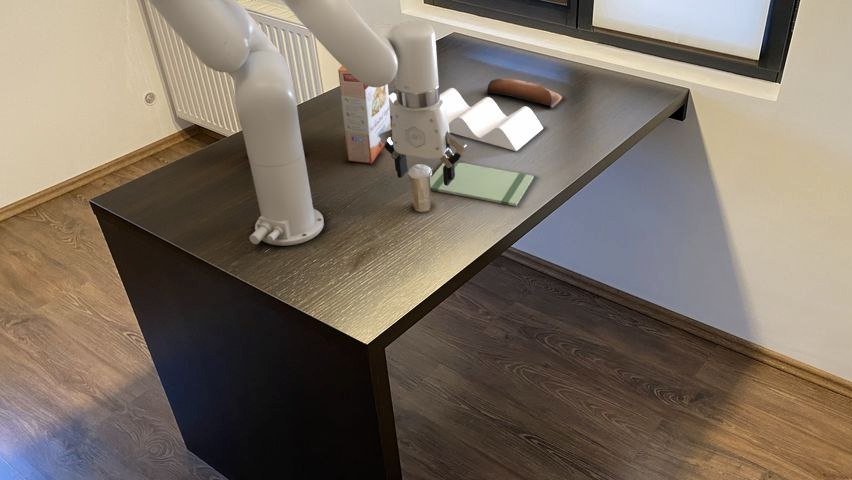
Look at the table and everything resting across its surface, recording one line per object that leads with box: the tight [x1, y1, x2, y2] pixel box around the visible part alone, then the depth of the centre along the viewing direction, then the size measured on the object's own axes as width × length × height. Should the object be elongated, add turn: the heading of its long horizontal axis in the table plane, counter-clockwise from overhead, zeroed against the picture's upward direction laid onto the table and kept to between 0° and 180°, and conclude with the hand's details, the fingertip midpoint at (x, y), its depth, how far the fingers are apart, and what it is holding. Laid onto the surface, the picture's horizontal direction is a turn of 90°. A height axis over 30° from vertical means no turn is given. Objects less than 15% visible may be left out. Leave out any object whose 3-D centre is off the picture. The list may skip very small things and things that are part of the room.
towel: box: [431, 161, 535, 207], centre depth 156 cm, size 12×20×1 cm, turn 71°
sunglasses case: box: [486, 78, 563, 109], centre depth 189 cm, size 18×7×7 cm
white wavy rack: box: [389, 87, 544, 152], centre depth 177 cm, size 13×35×5 cm, turn 60°
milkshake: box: [407, 163, 434, 213], centre depth 145 cm, size 4×5×10 cm
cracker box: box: [337, 65, 392, 165], centre depth 161 cm, size 14×6×21 cm, turn 168°
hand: (425, 178), depth 144 cm, fingers open, 9 cm apart
